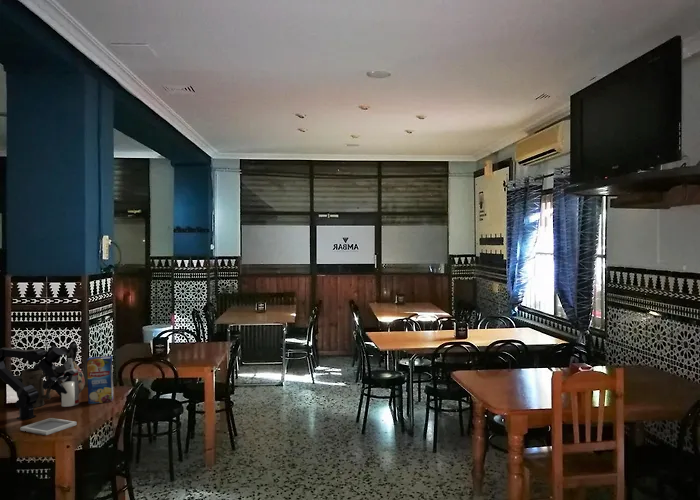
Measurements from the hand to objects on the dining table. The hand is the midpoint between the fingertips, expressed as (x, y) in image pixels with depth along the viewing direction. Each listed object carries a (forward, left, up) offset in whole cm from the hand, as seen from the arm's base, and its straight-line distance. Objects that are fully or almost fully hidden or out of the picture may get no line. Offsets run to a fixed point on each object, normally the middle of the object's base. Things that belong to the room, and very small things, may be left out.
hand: (70, 391), depth 292 cm
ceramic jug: (-37, +30, -14) cm, 50 cm away
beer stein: (-39, +11, -14) cm, 43 cm away
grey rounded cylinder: (-1, 0, -7) cm, 7 cm away
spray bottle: (-23, +19, -14) cm, 33 cm away
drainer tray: (+3, -14, -13) cm, 20 cm away
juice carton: (-13, +30, -14) cm, 35 cm away
